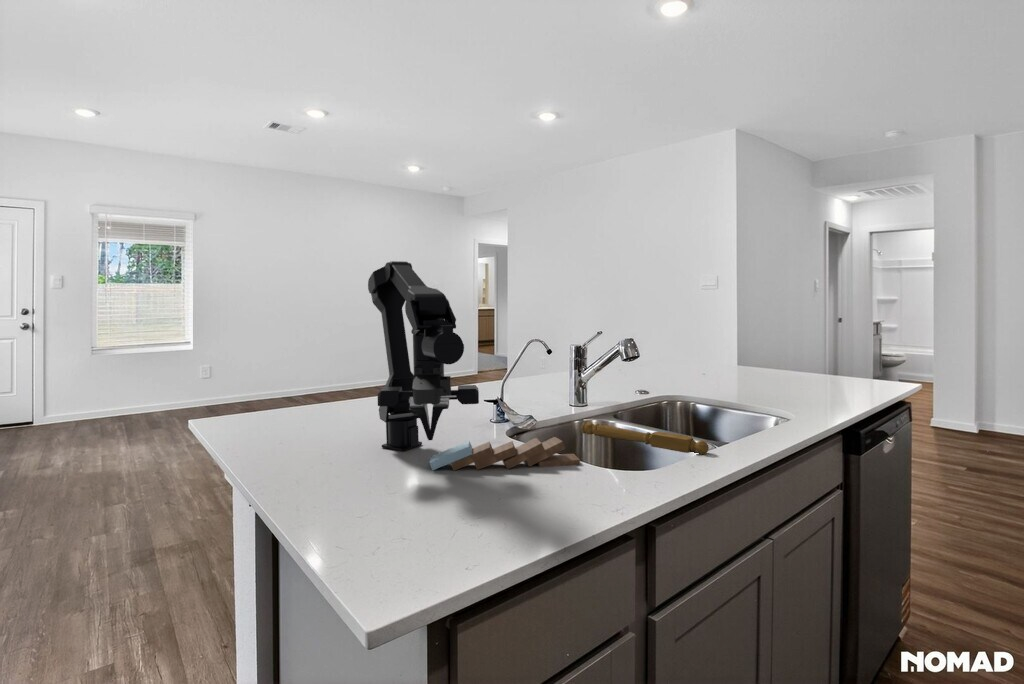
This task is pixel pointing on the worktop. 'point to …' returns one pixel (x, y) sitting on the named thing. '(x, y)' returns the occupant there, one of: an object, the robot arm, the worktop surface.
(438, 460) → the domino
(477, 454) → the domino
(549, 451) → the domino
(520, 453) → the domino
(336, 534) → the worktop surface
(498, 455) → the domino
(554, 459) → the domino
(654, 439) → the brown turned wooden rod
